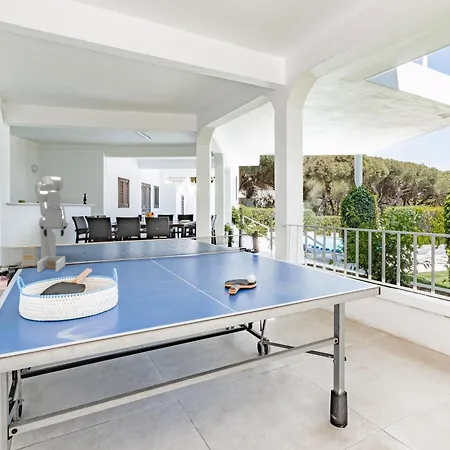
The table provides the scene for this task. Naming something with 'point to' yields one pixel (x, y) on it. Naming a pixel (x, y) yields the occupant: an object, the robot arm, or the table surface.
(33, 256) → the supplement box
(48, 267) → the walnut block
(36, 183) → the robot arm
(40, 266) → the frosted channel
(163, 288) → the table surface
